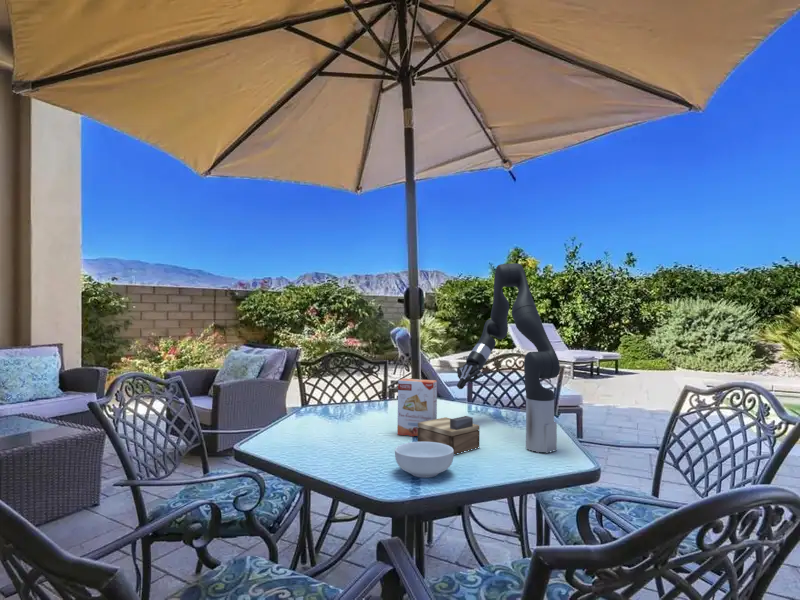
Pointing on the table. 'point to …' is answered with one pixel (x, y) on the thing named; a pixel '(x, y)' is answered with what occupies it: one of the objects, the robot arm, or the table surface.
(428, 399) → the cracker box
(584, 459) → the table surface
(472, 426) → the beige cabinet door
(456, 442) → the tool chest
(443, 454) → the cereal bowl
